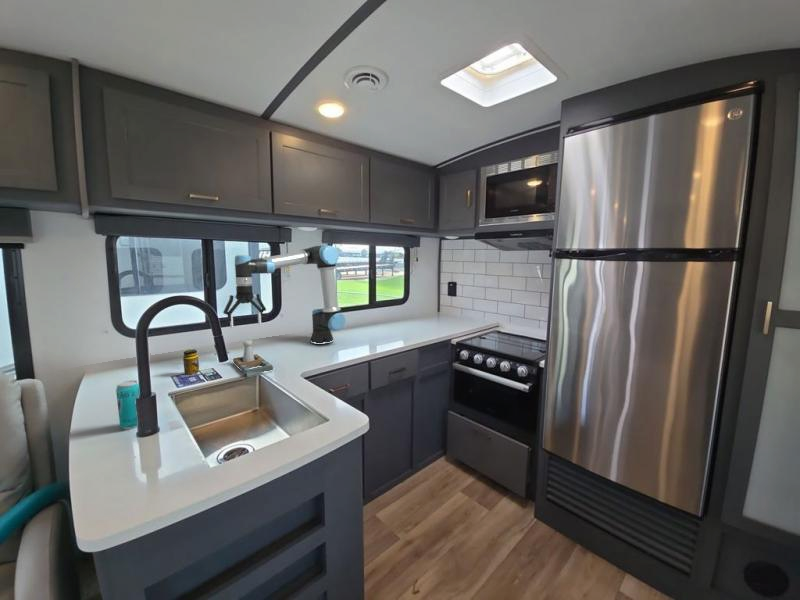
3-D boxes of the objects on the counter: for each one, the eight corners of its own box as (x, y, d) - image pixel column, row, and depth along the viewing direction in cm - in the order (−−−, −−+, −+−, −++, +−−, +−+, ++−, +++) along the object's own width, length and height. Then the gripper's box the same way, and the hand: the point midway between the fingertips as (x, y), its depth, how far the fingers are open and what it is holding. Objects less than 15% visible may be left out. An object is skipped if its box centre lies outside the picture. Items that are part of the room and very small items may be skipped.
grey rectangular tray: (233, 363, 170) (233, 358, 170) (257, 359, 178) (256, 354, 177) (247, 377, 150) (247, 371, 150) (273, 371, 158) (272, 365, 158)
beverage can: (120, 425, 106) (115, 382, 104) (142, 420, 110) (138, 378, 108) (120, 432, 102) (115, 388, 100) (143, 426, 106) (138, 383, 104)
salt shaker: (248, 366, 165) (247, 342, 164) (240, 365, 167) (238, 341, 166) (257, 363, 171) (256, 340, 169) (249, 362, 173) (247, 339, 171)
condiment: (201, 374, 154) (200, 350, 152) (181, 379, 148) (179, 354, 146) (198, 371, 159) (196, 347, 157) (177, 375, 153) (175, 351, 151)
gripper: (218, 286, 153) (221, 329, 155) (271, 284, 169) (272, 323, 171) (215, 285, 158) (217, 327, 161) (266, 284, 175) (268, 321, 177)
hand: (246, 325), depth 166 cm, fingers open, 13 cm apart
